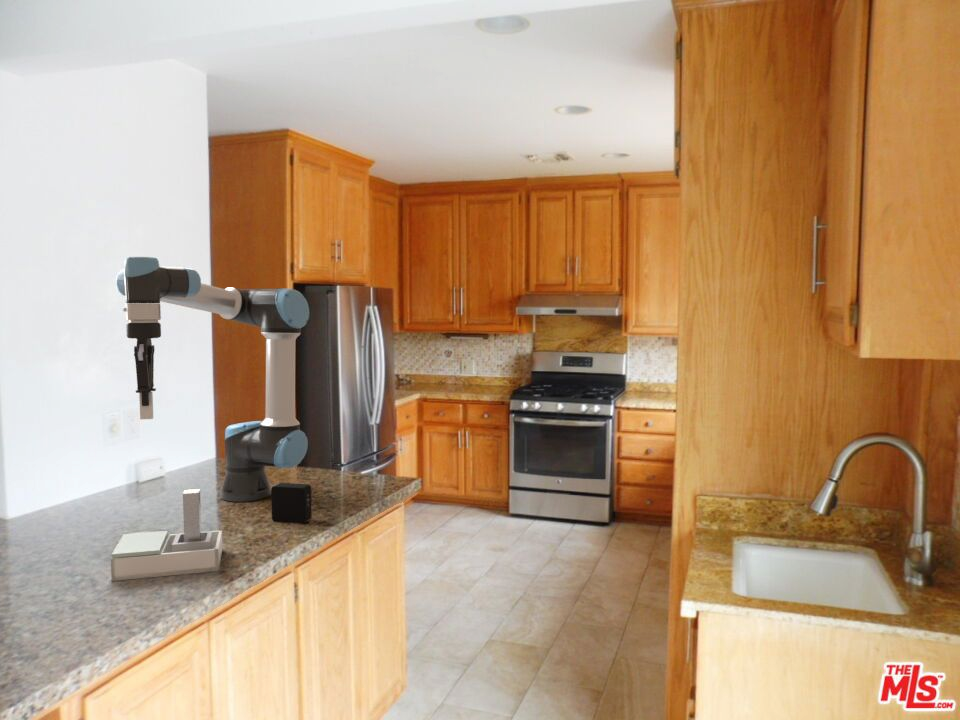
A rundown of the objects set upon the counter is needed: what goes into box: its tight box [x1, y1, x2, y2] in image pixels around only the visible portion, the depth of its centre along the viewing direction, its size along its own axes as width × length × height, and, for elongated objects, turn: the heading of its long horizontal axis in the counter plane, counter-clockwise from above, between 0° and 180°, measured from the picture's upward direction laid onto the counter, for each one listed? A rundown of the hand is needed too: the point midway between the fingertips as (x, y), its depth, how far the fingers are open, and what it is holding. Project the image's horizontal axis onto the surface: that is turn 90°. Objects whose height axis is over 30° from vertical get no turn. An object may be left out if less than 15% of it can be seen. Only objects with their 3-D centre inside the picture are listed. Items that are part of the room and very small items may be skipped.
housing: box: [110, 530, 224, 582], centre depth 165 cm, size 14×22×6 cm, turn 106°
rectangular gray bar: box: [182, 488, 202, 542], centre depth 166 cm, size 3×3×16 cm
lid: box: [110, 529, 169, 559], centre depth 163 cm, size 15×10×1 cm, turn 16°
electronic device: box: [270, 482, 312, 525], centre depth 198 cm, size 4×10×10 cm, turn 78°
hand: (146, 418), depth 173 cm, fingers closed
